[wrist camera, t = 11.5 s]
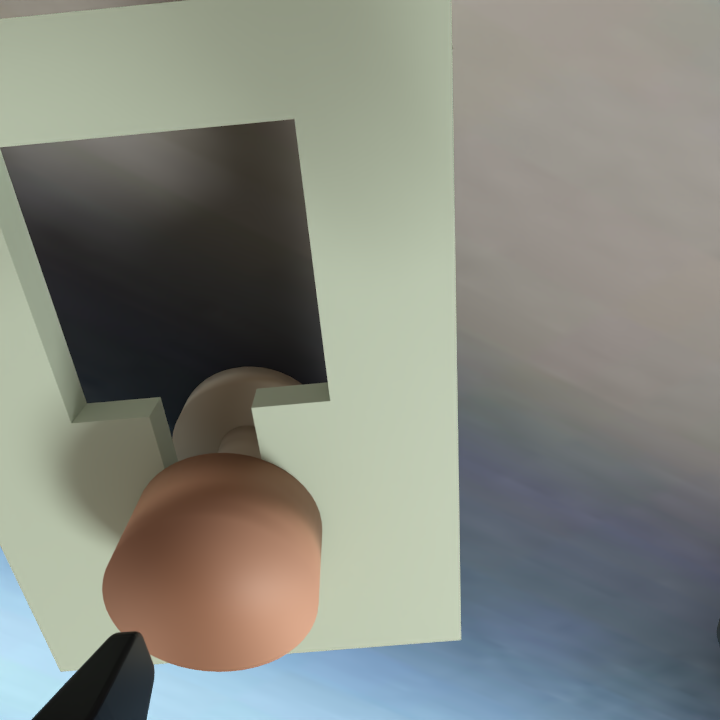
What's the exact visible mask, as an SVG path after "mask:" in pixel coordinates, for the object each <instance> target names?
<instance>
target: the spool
mask: <svg viewBox="0 0 720 720" xmlns="http://www.w3.org/2000/svg"><path fill="white" fill-rule="evenodd" d="M293 385H302V384H301V383H300V382H298V381H297V380H295V379H293V378H292V377H290V376H288V375H286V374H284V373H281V372H278V371H275V370H272V369H267V368H263V367H237V368H231V369H228V370H224V371H221V372H219V373H216V374H214V375H212V376H211V377H209V378H207V379H206V380H204V381H203V382H202V383H200V384H199V385H198V386H197V387H196V388H195V389H194V390H193V392H192V393H191V395H190V396H189V397H188V399H187V401H186V403H185V405H184V408H183V410H182V412H181V414H180V416H179V418H178V420H177V422H176V424H175V428H174V431H173V437H172V441H173V444H174V448H175V451H176V455H177V459H178V462H176V463H174V464H172V465H170V466H168V467H167V468H165V469H164V470H162V471H161V472H160V473H158V474H157V475H156V476H155V477H154V478H153V479H152V480H151V481H150V482H149V483H148V485H147V486H146V488H145V489H144V491H143V493H142V495H141V497H140V499H139V501H138V503H137V505H136V507H135V509H134V511H133V513H132V515H131V517H130V520H129V522H128V524H127V526H126V528H125V530H124V532H123V534H122V536H121V538H120V540H119V542H118V544H117V546H116V549H115V551H114V553H113V555H112V557H111V559H110V561H109V563H108V565H107V567H106V569H105V573H104V577H103V584H102V593H103V600H104V604H105V607H106V610H107V612H108V614H109V616H110V618H111V620H112V621H113V623H114V624H115V626H116V627H117V628H118V630H119V631H120V632H131V631H138V632H140V633H141V634H142V636H143V638H144V640H145V643H146V646H147V648H148V651H149V653H150V655H152V656H154V657H156V658H158V659H160V660H163V661H165V662H168V663H171V664H174V665H177V666H181V667H185V668H189V669H195V670H202V671H216V672H222V671H237V670H245V669H249V668H254V667H258V666H261V665H264V664H267V663H269V662H272V661H274V660H276V659H279V658H280V657H282V656H284V655H285V654H287V653H289V652H290V651H291V650H293V649H294V648H295V647H297V646H298V645H299V644H300V643H301V642H302V641H303V640H304V639H305V637H306V636H307V634H308V633H309V632H310V630H311V628H312V626H313V624H314V622H315V619H316V616H317V613H318V605H319V588H320V568H321V548H322V520H321V516H320V512H319V510H318V507H317V505H316V502H315V501H314V499H313V497H312V496H311V494H310V493H309V492H308V490H307V489H306V488H305V487H304V486H303V485H302V484H301V483H300V482H299V481H298V480H297V479H296V478H295V477H293V476H292V475H291V474H289V473H288V472H287V471H285V470H283V469H281V468H280V467H278V466H276V465H274V464H272V463H269V462H267V461H265V460H262V459H261V454H260V449H259V444H258V439H257V434H256V429H255V424H254V419H253V414H252V409H251V407H252V404H253V400H254V397H255V393H256V389H258V388H270V387H281V386H293Z"/></svg>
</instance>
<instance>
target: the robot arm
mask: <svg viewBox="0 0 720 720" xmlns="http://www.w3.org/2000/svg"><path fill="white" fill-rule="evenodd" d="M717 638H718V642H719V646H720V620H719V623H718V627H717ZM153 682H154V665H153V661H152V659H151V656H150V653H149V651H148V648H147V646H146V643H145V640H144V638H143V636H142V634H141V633H140V632H138V631H131V632H118V633H114V634H113V635H111V636H110V637H109V638H108V639H107V640H106V641H105V642H104V643H103V644H102V645H101V646H100V647H99V648H98V649H97V650H96V651H95V652H94V653H93V655H92V656H91V657H90V658H89V659H88V660H87V661H86V662H85V663H84V664H83V665H82V666H81V667H80V668H79V670H78V671H77V672H76V673H75V674H74V675H73V676H72V677H71V678H70V679H69V680H68V681H67V682H66V683H65V684H64V686H63V687H62V688H61V689H60V690H59V691H58V692H57V693H56V694H55V695H54V696H53V697H52V698H51V699H50V700H49V702H48V703H47V704H46V705H45V706H44V707H43V708H42V709H41V710H40V711H39V712H38V713H37V714H36V715H35V717H34V718H33V719H32V720H146V719H147V714H148V709H149V703H150V698H151V693H152V688H153Z"/></svg>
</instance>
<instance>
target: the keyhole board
mask: <svg viewBox="0 0 720 720" xmlns="http://www.w3.org/2000/svg"><path fill="white" fill-rule="evenodd" d="M290 119H294V120H295V128H296V135H297V143H298V151H299V159H300V167H301V175H302V183H303V191H304V198H305V206H306V214H307V222H308V230H309V238H310V246H311V254H312V261H313V269H314V277H315V285H316V293H317V301H318V309H319V317H320V324H321V332H322V340H323V348H324V356H325V364H326V372H327V380H328V382H327V383H315V384H304V385H293V386H281V387H270V388H258V389H256V393H255V397H254V400H253V404H252V407H251V409H252V414H253V419H254V424H255V429H256V434H257V439H258V444H259V449H260V454H261V459H262V460H265V461H267V462H269V463H272V464H274V465H276V466H278V467H280V468H281V469H283V470H285V471H287V472H288V473H289V474H291V475H292V476H293V477H295V478H296V479H297V480H298V481H299V482H300V483H301V484H302V485H303V486H304V487H305V488H306V489H307V490H308V492H309V493H310V494H311V496H312V497H313V499H314V501H315V502H316V505H317V507H318V510H319V512H320V516H321V520H322V548H321V568H320V588H319V605H318V613H317V616H316V619H315V622H314V624H313V626H312V628H311V630H310V632H309V633H308V634H307V636H306V637H305V639H304V640H303V641H302V642H301V643H300V644H299V645H298V646H297V647H295V648H294V649H293V650H291V651H290V652H289V653H302V652H315V651H327V650H340V649H353V648H365V647H378V646H391V645H403V644H416V643H428V642H441V641H454V640H461V602H460V536H459V470H458V404H457V338H456V272H455V206H454V140H453V74H452V8H451V0H185V1H175V2H165V3H155V4H145V5H135V6H125V7H115V8H105V9H95V10H85V11H75V12H65V13H55V14H45V15H35V16H25V17H15V18H5V19H0V147H8V146H19V145H29V144H39V143H50V142H60V141H71V140H81V139H92V138H102V137H112V136H123V135H133V134H144V133H154V132H164V131H175V130H185V129H196V128H206V127H217V126H227V125H237V124H248V123H258V122H269V121H279V120H290ZM176 462H178V459H177V455H176V451H175V448H174V444H173V441H172V437H171V433H170V430H169V426H168V422H167V419H166V415H165V411H164V408H163V404H162V401H161V397H155V398H144V399H133V400H121V401H110V402H98V403H87V402H86V399H85V396H84V393H83V390H82V388H81V385H80V382H79V379H78V376H77V373H76V370H75V367H74V364H73V361H72V358H71V355H70V352H69V349H68V347H67V344H66V341H65V338H64V335H63V332H62V329H61V326H60V323H59V320H58V317H57V314H56V311H55V308H54V306H53V303H52V300H51V297H50V294H49V291H48V288H47V285H46V282H45V279H44V276H43V273H42V270H41V267H40V264H39V262H38V259H37V256H36V253H35V250H34V247H33V244H32V241H31V238H30V235H29V232H28V229H27V226H26V223H25V221H24V218H23V215H22V212H21V209H20V206H19V203H18V200H17V197H16V194H15V191H14V188H13V185H12V182H11V180H10V177H9V174H8V171H7V168H6V165H5V162H4V159H3V156H2V153H1V150H0V546H1V548H2V550H3V552H4V554H5V556H6V558H7V560H8V562H9V565H10V567H11V569H12V571H13V573H14V575H15V577H16V579H17V581H18V583H19V586H20V588H21V590H22V592H23V594H24V596H25V598H26V600H27V602H28V604H29V606H30V609H31V611H32V613H33V615H34V617H35V619H36V621H37V623H38V625H39V627H40V630H41V632H42V634H43V636H44V638H45V640H46V642H47V644H48V646H49V648H50V650H51V653H52V655H53V657H54V659H55V661H56V663H57V665H58V667H59V669H60V671H61V672H62V671H74V670H79V668H80V667H81V666H82V665H83V664H84V663H85V662H86V661H87V660H88V659H89V658H90V657H91V656H92V655H93V653H94V652H95V651H96V650H97V649H98V648H99V647H100V646H101V645H102V644H103V643H104V642H105V641H106V640H107V639H108V638H109V637H110V636H111V635H113V634H114V633H118V632H120V631H119V630H118V628H117V627H116V626H115V624H114V623H113V621H112V620H111V618H110V616H109V614H108V612H107V610H106V607H105V604H104V600H103V593H102V584H103V577H104V573H105V569H106V567H107V565H108V563H109V561H110V559H111V557H112V555H113V553H114V551H115V549H116V546H117V544H118V542H119V540H120V538H121V536H122V534H123V532H124V530H125V528H126V526H127V524H128V522H129V520H130V517H131V515H132V513H133V511H134V509H135V507H136V505H137V503H138V501H139V499H140V497H141V495H142V493H143V491H144V489H145V488H146V486H147V485H148V483H149V482H150V481H151V480H152V479H153V478H154V477H155V476H156V475H157V474H158V473H160V472H161V471H162V470H164V469H165V468H167V467H168V466H170V465H172V464H174V463H176ZM289 653H287V654H289ZM150 656H151V659H152V661H153V664H163V663H168V662H165V661H163V660H160V659H158V658H156V657H154V656H152V655H150Z"/></svg>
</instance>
